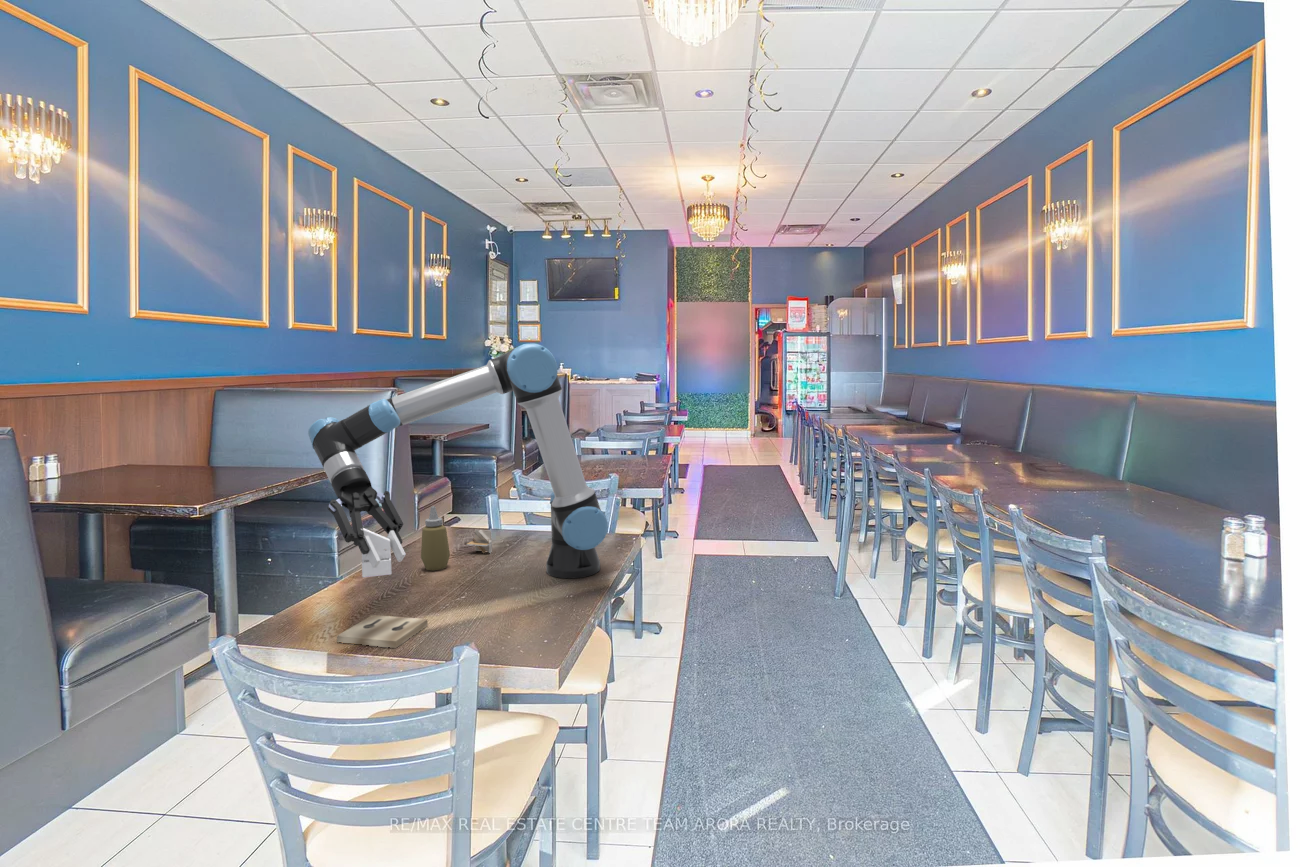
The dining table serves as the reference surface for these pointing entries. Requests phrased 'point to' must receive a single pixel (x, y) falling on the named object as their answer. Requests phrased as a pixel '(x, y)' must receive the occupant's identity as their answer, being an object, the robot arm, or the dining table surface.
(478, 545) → the architectural model
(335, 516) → the robot arm
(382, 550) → the white angled block
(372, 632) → the mount board
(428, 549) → the squeeze bottle
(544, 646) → the dining table surface
